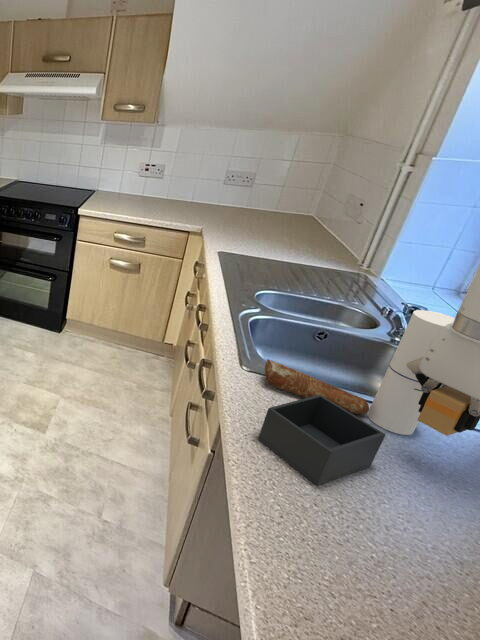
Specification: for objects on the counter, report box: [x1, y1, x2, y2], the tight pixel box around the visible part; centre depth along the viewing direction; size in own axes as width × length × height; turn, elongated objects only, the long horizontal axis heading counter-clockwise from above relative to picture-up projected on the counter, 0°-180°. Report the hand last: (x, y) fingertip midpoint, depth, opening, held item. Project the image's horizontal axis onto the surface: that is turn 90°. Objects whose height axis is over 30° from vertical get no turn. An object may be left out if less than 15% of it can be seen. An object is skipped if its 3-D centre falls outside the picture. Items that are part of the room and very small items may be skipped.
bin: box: [257, 395, 386, 486], centre depth 78 cm, size 14×11×8 cm
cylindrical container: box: [367, 309, 455, 436], centre depth 83 cm, size 7×7×25 cm
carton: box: [418, 385, 471, 437], centre depth 72 cm, size 5×4×6 cm
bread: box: [264, 358, 370, 415], centre depth 94 cm, size 6×19×6 cm, turn 50°
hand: (443, 419), depth 73 cm, fingers closed on carton, 4 cm apart
